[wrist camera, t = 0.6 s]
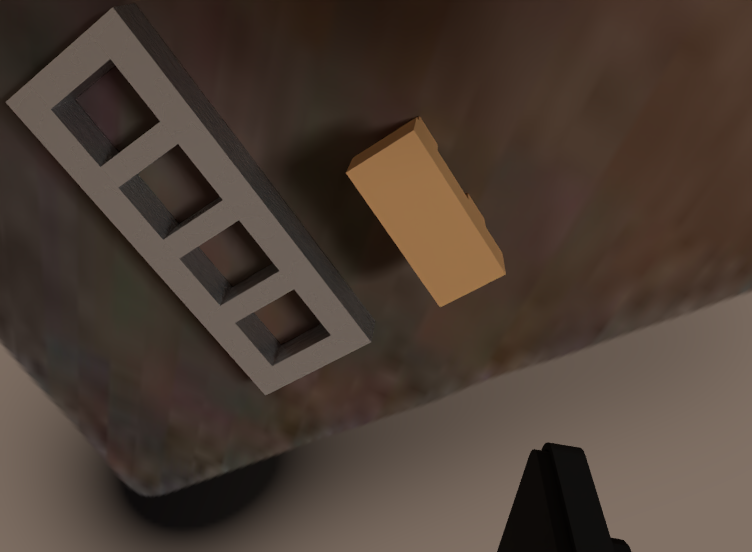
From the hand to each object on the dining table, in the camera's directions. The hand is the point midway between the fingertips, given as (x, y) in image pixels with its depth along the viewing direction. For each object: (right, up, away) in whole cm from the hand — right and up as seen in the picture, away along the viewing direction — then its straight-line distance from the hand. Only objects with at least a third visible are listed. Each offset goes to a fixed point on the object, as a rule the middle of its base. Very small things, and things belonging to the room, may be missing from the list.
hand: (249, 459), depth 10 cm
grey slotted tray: (-8, +7, +29) cm, 31 cm away
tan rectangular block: (+5, +9, +27) cm, 29 cm away
